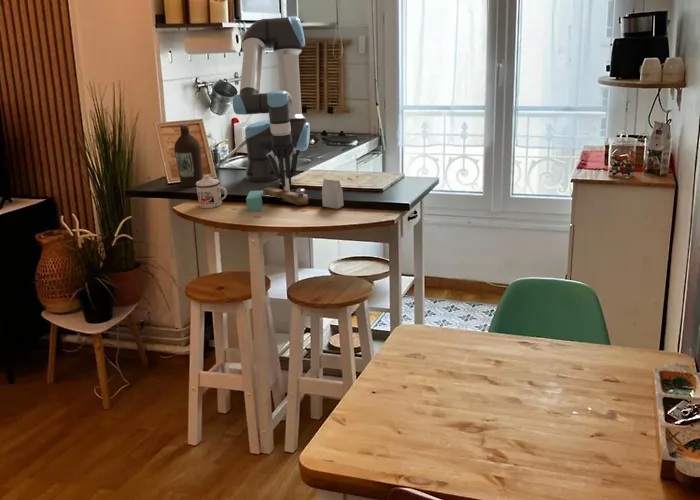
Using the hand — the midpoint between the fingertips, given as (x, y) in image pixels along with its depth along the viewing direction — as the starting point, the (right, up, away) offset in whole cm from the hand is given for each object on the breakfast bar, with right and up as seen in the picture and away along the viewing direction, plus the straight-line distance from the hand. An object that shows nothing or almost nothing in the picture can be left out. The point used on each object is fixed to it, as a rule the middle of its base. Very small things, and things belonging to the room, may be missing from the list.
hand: (287, 193), depth 288 cm
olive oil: (-42, +6, +28) cm, 51 cm away
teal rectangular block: (-11, -6, -9) cm, 15 cm away
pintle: (+6, -1, -9) cm, 11 cm away
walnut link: (0, -3, -3) cm, 4 cm away
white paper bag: (+18, -6, -12) cm, 22 cm away
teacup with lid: (-28, -5, -2) cm, 28 cm away
